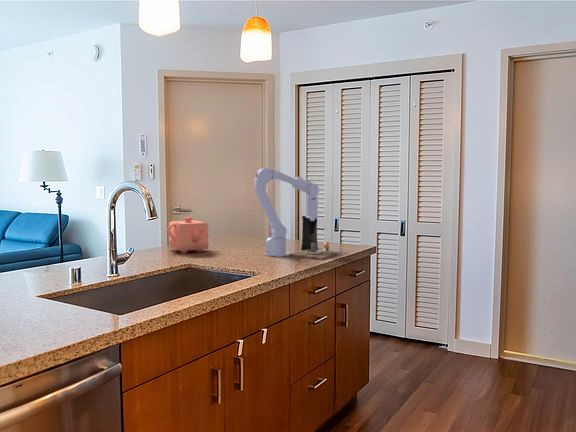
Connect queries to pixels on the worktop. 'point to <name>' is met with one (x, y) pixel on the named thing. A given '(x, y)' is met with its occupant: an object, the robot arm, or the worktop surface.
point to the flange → (326, 250)
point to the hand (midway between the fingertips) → (311, 234)
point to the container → (308, 235)
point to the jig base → (313, 256)
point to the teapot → (188, 235)
